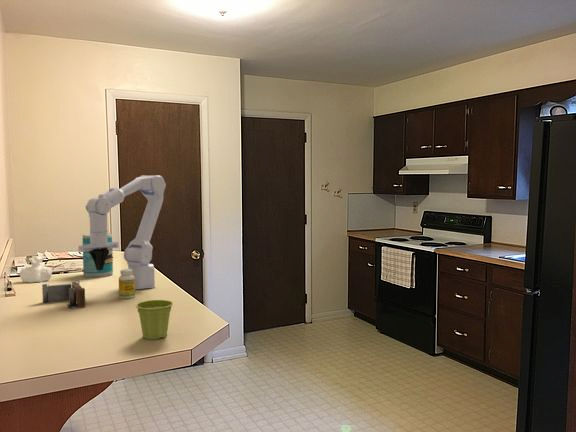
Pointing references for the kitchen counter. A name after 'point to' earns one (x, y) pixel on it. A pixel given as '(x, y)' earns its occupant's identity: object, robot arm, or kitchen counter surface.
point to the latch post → (72, 299)
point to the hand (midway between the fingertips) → (99, 269)
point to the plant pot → (154, 318)
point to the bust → (35, 271)
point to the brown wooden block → (80, 295)
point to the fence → (56, 292)
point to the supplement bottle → (126, 284)
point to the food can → (89, 264)
